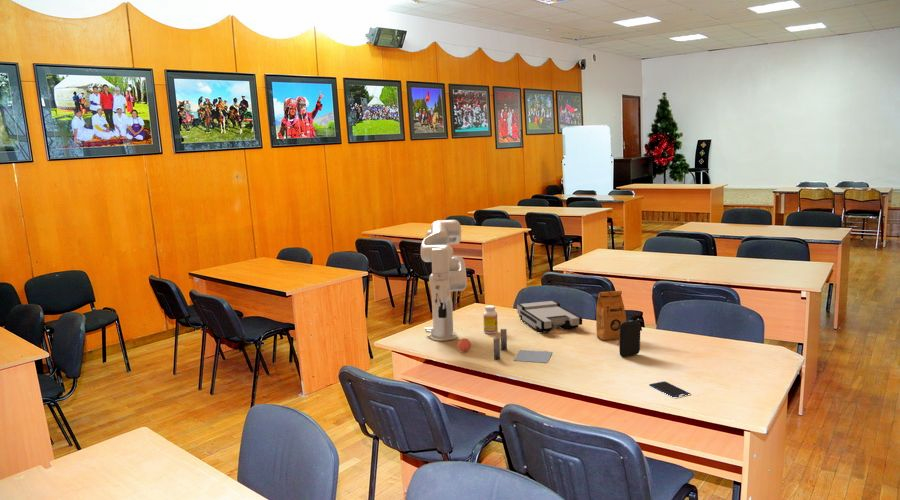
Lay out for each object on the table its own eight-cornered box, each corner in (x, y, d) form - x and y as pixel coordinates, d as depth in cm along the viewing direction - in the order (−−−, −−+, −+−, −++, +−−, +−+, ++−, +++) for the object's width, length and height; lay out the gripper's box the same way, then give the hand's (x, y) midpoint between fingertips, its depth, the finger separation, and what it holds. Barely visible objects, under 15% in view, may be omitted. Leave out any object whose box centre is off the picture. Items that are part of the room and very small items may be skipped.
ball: (456, 353, 263) (455, 340, 262) (460, 349, 268) (459, 336, 267) (469, 354, 261) (468, 341, 260) (473, 350, 266) (472, 337, 266)
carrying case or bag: (639, 352, 255) (639, 318, 253) (643, 354, 252) (644, 320, 250) (617, 356, 251) (617, 321, 249) (622, 358, 249) (622, 323, 246)
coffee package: (628, 340, 272) (629, 292, 269) (601, 342, 271) (601, 294, 268) (620, 334, 282) (620, 287, 278) (594, 336, 281) (594, 289, 277)
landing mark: (513, 360, 251) (513, 360, 251) (520, 350, 264) (520, 349, 264) (547, 363, 247) (547, 362, 247) (552, 352, 260) (552, 351, 260)
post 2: (500, 350, 265) (499, 330, 264) (501, 348, 267) (501, 328, 266) (506, 350, 264) (505, 330, 263) (507, 348, 267) (507, 328, 265)
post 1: (493, 360, 253) (492, 339, 251) (494, 358, 255) (494, 337, 254) (499, 360, 252) (498, 339, 251) (500, 358, 254) (500, 337, 253)
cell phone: (674, 399, 207) (674, 397, 207) (648, 386, 220) (648, 384, 220) (692, 396, 210) (692, 394, 209) (664, 382, 222) (664, 380, 222)
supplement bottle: (496, 334, 289) (496, 308, 287) (482, 334, 290) (482, 308, 288) (498, 330, 295) (497, 304, 293) (484, 330, 296) (484, 304, 294)
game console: (541, 336, 284) (541, 319, 283) (517, 319, 315) (517, 304, 314) (582, 332, 289) (582, 315, 288) (554, 315, 320) (554, 300, 318)
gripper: (443, 279, 254) (445, 322, 257) (454, 272, 268) (455, 313, 271) (426, 279, 256) (428, 321, 259) (438, 272, 271) (440, 312, 273)
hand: (442, 317), depth 265 cm, fingers closed
